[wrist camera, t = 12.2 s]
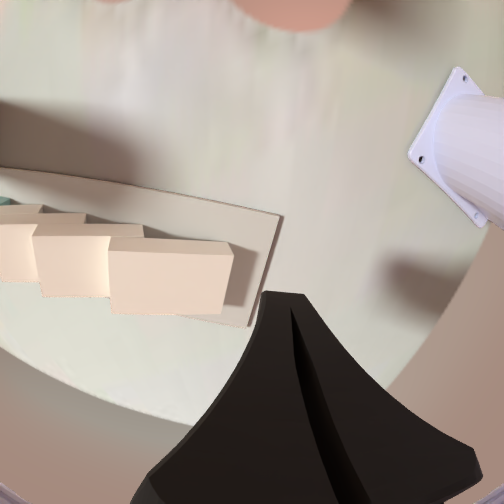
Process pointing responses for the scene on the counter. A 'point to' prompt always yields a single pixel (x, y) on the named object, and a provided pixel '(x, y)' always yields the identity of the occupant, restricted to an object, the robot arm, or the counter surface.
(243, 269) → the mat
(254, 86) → the counter surface
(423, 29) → the counter surface
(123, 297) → the tile
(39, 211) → the tile
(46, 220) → the tile
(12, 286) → the counter surface
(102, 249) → the tile
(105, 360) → the counter surface
